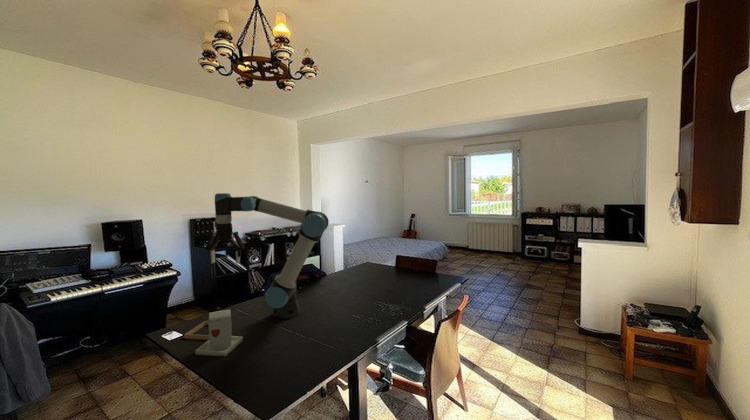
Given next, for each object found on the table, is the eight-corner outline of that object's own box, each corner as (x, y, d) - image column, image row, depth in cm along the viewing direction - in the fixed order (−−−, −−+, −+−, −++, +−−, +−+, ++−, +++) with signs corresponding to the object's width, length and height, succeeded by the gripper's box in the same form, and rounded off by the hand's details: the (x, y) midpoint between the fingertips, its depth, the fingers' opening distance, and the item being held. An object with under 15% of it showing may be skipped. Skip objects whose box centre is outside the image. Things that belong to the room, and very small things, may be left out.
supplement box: (209, 352, 131) (207, 319, 130) (210, 343, 139) (208, 312, 138) (232, 348, 135) (230, 315, 134) (231, 339, 143) (230, 308, 142)
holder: (231, 326, 158) (231, 322, 158) (212, 340, 144) (212, 336, 143) (205, 324, 160) (205, 320, 160) (184, 338, 145) (184, 334, 145)
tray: (243, 340, 143) (242, 336, 143) (225, 356, 129) (225, 352, 129) (215, 338, 145) (215, 335, 145) (195, 354, 131) (195, 350, 131)
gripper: (250, 221, 159) (252, 261, 161) (205, 222, 161) (207, 261, 162) (243, 223, 152) (245, 264, 153) (196, 223, 153) (198, 264, 155)
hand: (225, 262), depth 158 cm, fingers open, 13 cm apart
